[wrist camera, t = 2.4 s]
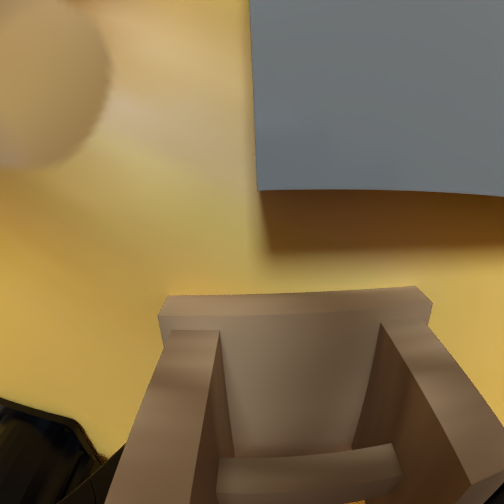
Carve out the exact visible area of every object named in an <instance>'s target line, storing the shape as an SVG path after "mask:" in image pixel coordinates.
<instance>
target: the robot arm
mask: <svg viewBox="0 0 504 504" xmlns="http://www.w3.org/2000/svg"><path fill="white" fill-rule="evenodd" d="M125 445H126V443H125V444H124V445H123V446H122V447H121V448H120V449H119V450H118V451H117V452H116V453H115V454H114V455H113V456H112V457H111V458H109V459H108V460H107V461H106V462H105V463H104V464H103V465H101V463H100V462H99V460H98V459H97V457H96V455H95V454H94V452H93V451H92V449H91V447H90V446H89V444H88V442H87V441H86V439H85V437H84V436H83V434H82V432H81V430H80V429H79V427H78V426H77V424H76V423H75V422H73V421H72V420H70V419H69V418H66V417H62V416H58V415H54V414H51V413H47V412H43V411H40V410H36V409H33V408H29V407H26V406H23V405H20V404H17V403H14V402H11V401H8V400H5V399H2V398H0V504H104V503H105V500H106V497H107V495H108V492H109V489H110V486H111V483H112V480H113V478H114V475H115V472H116V469H117V466H118V464H119V461H120V458H121V456H122V453H123V450H124V447H125ZM483 504H504V482H503V483H502V485H501V486H500V487H499V488H498V489H497V490H496V491H495V492H494V493H493V494H492V495H491V496H490V497H489V498H488V499H487V500H486V501H485V502H484V503H483Z"/></svg>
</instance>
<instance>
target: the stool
mask: <svg viewBox="0 0 504 504" xmlns="http://www.w3.org/2000/svg"><path fill="white" fill-rule="evenodd" d="M432 304H433V303H432V302H431V301H430V300H429V299H428V298H427V297H426V296H425V295H424V294H423V293H422V292H421V291H420V290H419V289H418V288H417V287H416V286H406V287H393V288H378V289H363V290H346V291H327V292H305V293H280V294H247V295H182V296H168V297H167V299H166V301H165V303H164V305H163V307H162V308H161V310H160V312H159V314H158V320H159V325H160V330H161V335H162V340H163V345H164V349H163V352H162V354H161V356H160V359H159V361H158V364H157V366H156V368H155V371H154V373H153V376H152V378H151V381H150V383H149V386H148V388H147V391H146V393H145V396H144V398H143V401H142V403H141V406H140V408H139V411H138V413H137V416H136V419H135V421H134V424H133V426H132V429H131V432H130V434H129V437H128V440H127V442H126V445H125V447H124V450H123V453H122V456H121V458H120V461H119V464H118V466H117V469H116V472H115V475H114V478H113V480H112V483H111V486H110V489H109V492H108V495H107V497H106V500H105V503H104V504H344V503H350V502H356V501H361V500H365V503H366V504H483V503H484V502H485V501H486V500H487V499H488V498H489V497H490V496H491V495H492V494H493V493H494V492H495V491H496V490H497V489H498V488H499V487H500V486H501V485H502V483H503V482H504V427H503V426H502V424H501V423H500V421H499V420H498V418H497V417H496V415H495V414H494V412H493V411H492V409H491V408H490V407H489V405H488V404H487V402H486V401H485V400H484V398H483V397H482V395H481V394H480V393H479V391H478V390H477V388H476V387H475V386H474V384H473V383H472V382H471V380H470V379H469V378H468V376H467V375H466V374H465V372H464V371H463V370H462V368H461V367H460V366H459V365H458V363H457V362H456V361H455V359H454V358H453V357H452V356H451V354H450V353H449V352H448V350H447V349H446V348H445V347H444V345H443V344H442V343H441V342H440V340H439V339H438V338H437V337H436V335H435V334H434V333H433V332H432V331H431V329H430V328H429V327H428V322H429V318H430V313H431V309H432Z"/></svg>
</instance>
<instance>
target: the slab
mask: <svg viewBox="0 0 504 504" xmlns="http://www.w3.org/2000/svg"><path fill="white" fill-rule="evenodd" d="M249 2H250V24H251V46H252V69H253V93H254V118H255V144H256V171H257V190H300V189H363V190H404V191H428V192H447V193H464V194H478V195H490V196H502V197H504V0H249Z"/></svg>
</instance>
